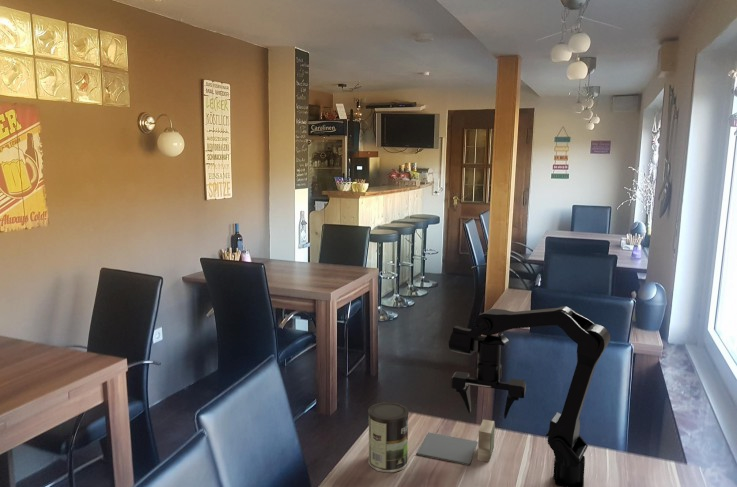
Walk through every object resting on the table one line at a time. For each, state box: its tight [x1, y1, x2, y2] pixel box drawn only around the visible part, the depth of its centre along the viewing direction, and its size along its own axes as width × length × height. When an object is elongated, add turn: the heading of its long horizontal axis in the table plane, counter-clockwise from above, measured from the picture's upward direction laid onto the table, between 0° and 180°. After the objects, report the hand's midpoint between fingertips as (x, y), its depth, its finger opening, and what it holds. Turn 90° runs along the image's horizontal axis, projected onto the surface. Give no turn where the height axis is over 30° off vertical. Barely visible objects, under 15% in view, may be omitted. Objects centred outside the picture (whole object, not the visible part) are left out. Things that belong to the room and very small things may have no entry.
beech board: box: [477, 419, 496, 463], centre depth 143 cm, size 3×7×8 cm, turn 159°
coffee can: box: [367, 401, 410, 473], centre depth 139 cm, size 10×10×14 cm
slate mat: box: [416, 431, 478, 466], centre depth 146 cm, size 14×12×1 cm
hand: (487, 415), depth 142 cm, fingers open, 9 cm apart
